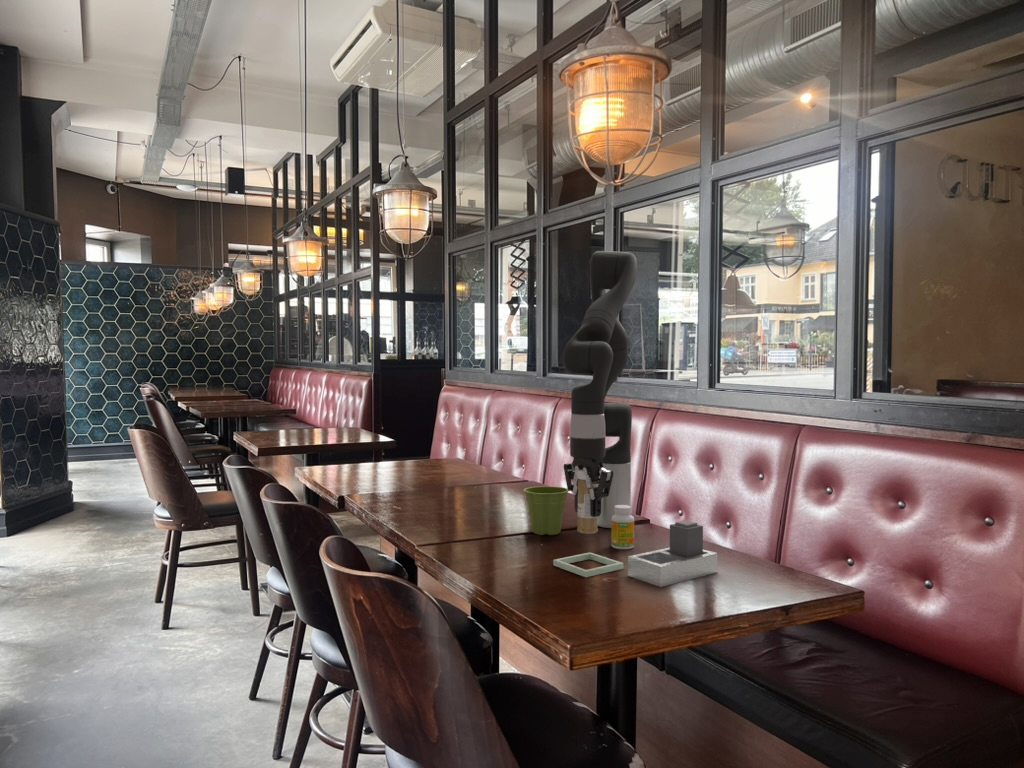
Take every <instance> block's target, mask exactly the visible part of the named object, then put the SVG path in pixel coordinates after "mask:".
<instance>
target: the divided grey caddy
mask: <svg viewBox="0 0 1024 768" xmlns="http://www.w3.org/2000/svg"><path fill="white" fill-rule="evenodd" d="M716 573H718V552H714V551H711V550H706V549H703V554H702V555H698V556H694V557H689V558H687V557H683V556H680V555H676V554H673V553H670V546H669V547H667V548H661V549H657V550H651V551H646V552H642V553H638V554H633V555H628V556H627V576H628V577H631V578H633V579H636V580H639V581H642V582H646V583H648V584H651V585H653V586H657V587H660V588H662V587H663V588H664V587H666V586H670V585H674V584H678V583H682V582H685V581H689V580H690V581H691V580H693V579H697V578H701V577H704V576H710V575H712V574H716Z"/></svg>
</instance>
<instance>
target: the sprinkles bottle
mask: <svg viewBox="0 0 1024 768" xmlns="http://www.w3.org/2000/svg"><path fill="white" fill-rule="evenodd" d="M577 478H578V513H577V528H576V530H577V532H578V533H581V534H596V533H597V532H598V531H599V528H598V525H597V517H592V516H591V496H590V490H589V489H588V488H587V485H586V480H587V479H588V478H587V476H586V475H585V474H584V472H583V470H578V471H577ZM597 481H598V480H597ZM597 481H596V482H592V484H597ZM595 493H597V488H595Z"/></svg>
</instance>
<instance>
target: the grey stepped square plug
mask: <svg viewBox="0 0 1024 768" xmlns="http://www.w3.org/2000/svg"><path fill="white" fill-rule="evenodd" d="M669 547H670V553H673V554H676V555H680V556H683V557H687V558H689V557H694V556H698V555H702V554H703V550H704V525H699V524H698V522H695V521H691V520H688V519H687V520H686V519H685V520H680V521H679V520H678V521H675V523H672V524H669Z"/></svg>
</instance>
